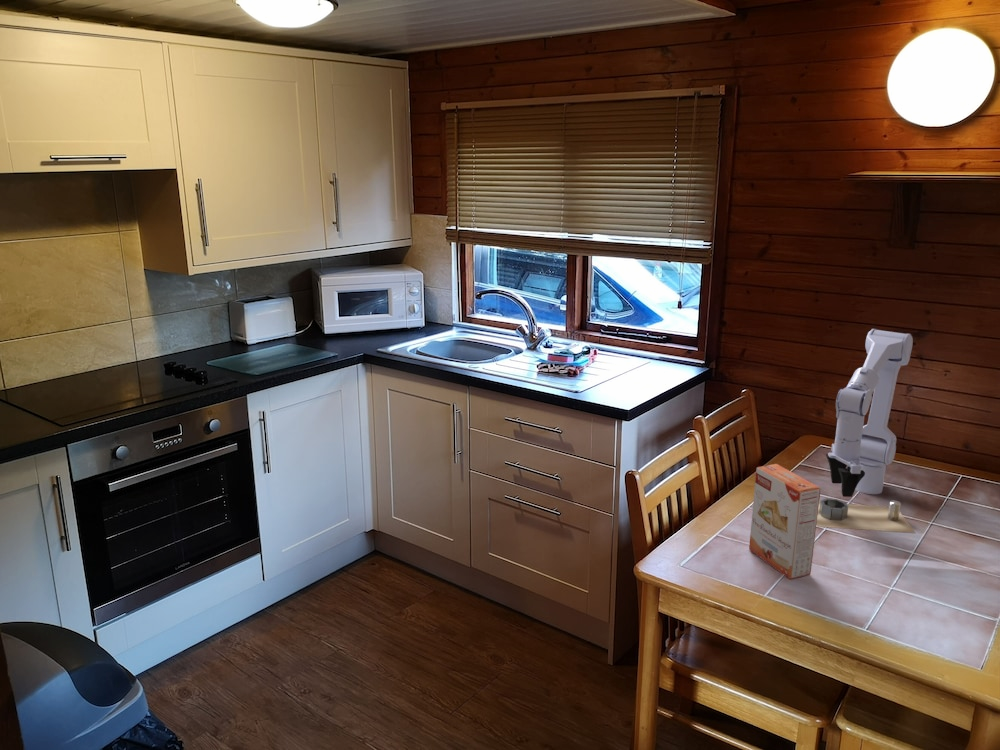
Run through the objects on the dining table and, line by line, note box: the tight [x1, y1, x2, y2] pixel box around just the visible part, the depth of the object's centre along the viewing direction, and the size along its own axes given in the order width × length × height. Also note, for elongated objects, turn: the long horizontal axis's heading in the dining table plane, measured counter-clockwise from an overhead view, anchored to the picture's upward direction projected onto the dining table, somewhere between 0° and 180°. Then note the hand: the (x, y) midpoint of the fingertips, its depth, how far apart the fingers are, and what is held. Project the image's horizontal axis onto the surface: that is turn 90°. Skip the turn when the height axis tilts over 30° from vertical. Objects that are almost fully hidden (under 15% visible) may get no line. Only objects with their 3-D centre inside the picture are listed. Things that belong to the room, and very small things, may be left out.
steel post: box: [888, 499, 902, 521], centre depth 189 cm, size 3×2×4 cm
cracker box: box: [748, 463, 822, 580], centre depth 170 cm, size 14×6×21 cm, turn 21°
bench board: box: [816, 501, 916, 534], centre depth 192 cm, size 14×22×1 cm, turn 81°
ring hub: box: [819, 498, 848, 521], centre depth 192 cm, size 6×6×3 cm
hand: (841, 489), depth 189 cm, fingers open, 7 cm apart
